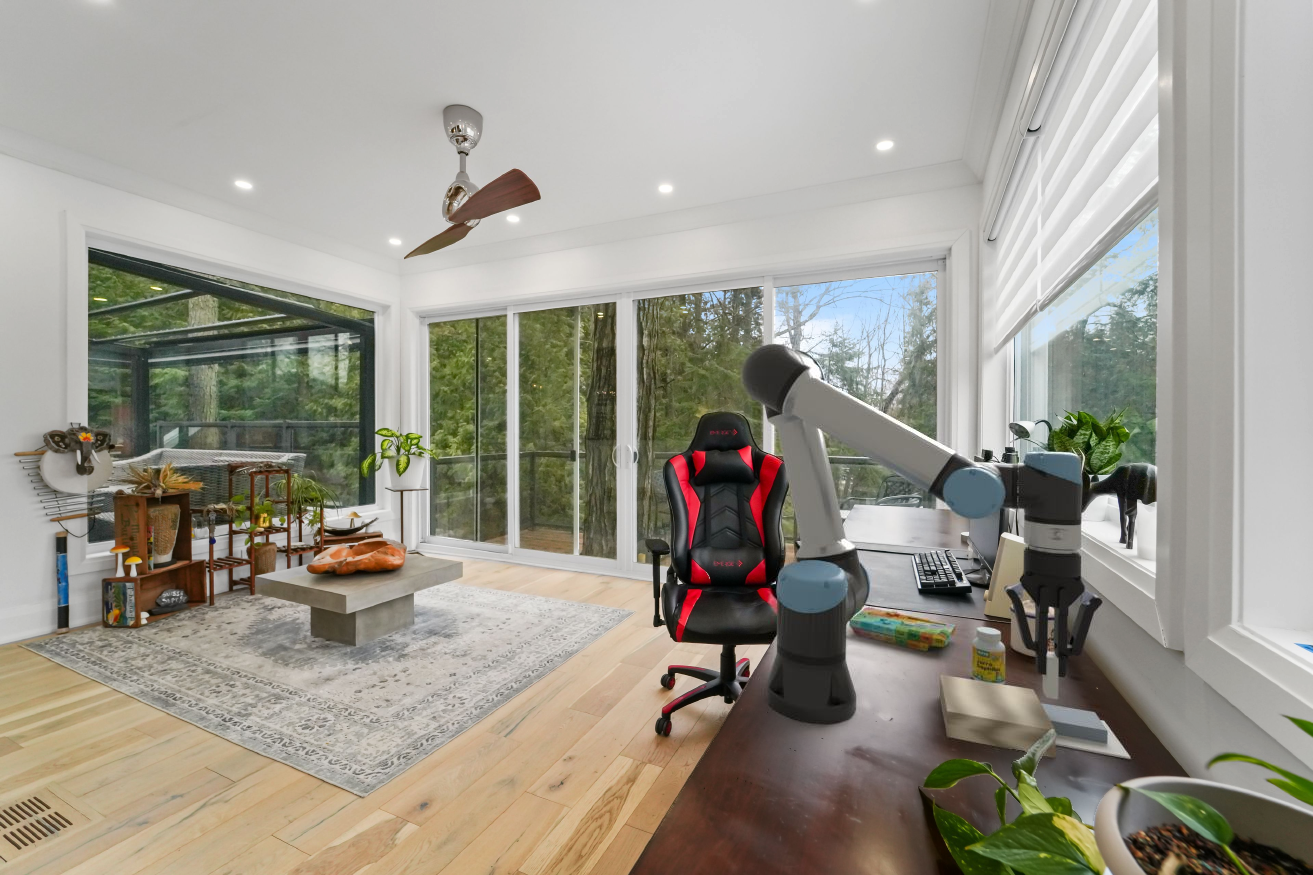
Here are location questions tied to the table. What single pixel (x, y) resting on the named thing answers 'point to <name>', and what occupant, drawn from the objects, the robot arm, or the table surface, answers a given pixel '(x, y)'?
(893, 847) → the table surface
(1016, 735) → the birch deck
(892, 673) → the table surface
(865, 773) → the table surface
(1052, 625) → the teacup with lid
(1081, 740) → the white mat
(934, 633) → the puzzle game
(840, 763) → the table surface
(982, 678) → the supplement bottle
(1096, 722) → the slate tile
